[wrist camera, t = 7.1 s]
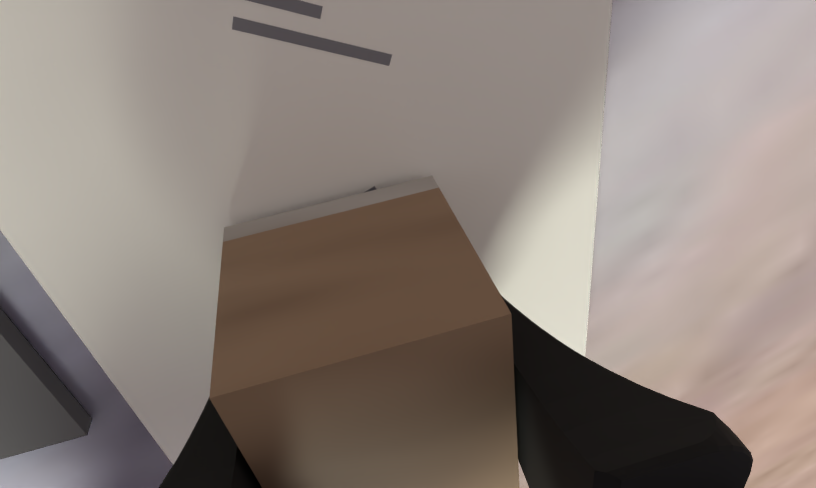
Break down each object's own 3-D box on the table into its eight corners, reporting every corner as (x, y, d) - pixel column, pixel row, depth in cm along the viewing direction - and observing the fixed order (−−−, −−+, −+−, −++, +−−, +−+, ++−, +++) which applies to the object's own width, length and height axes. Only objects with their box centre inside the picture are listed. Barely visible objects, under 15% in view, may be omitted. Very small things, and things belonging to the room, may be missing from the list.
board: (564, 346, 21) (583, 376, 19) (196, 452, 19) (192, 491, 18) (592, -321, 10) (638, -348, 9) (-236, -190, 8) (-317, -200, 7)
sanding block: (458, 366, 17) (520, 519, 13) (303, 411, 17) (318, 584, 13) (432, 175, 13) (511, 313, 9) (223, 227, 12) (208, 398, 8)
